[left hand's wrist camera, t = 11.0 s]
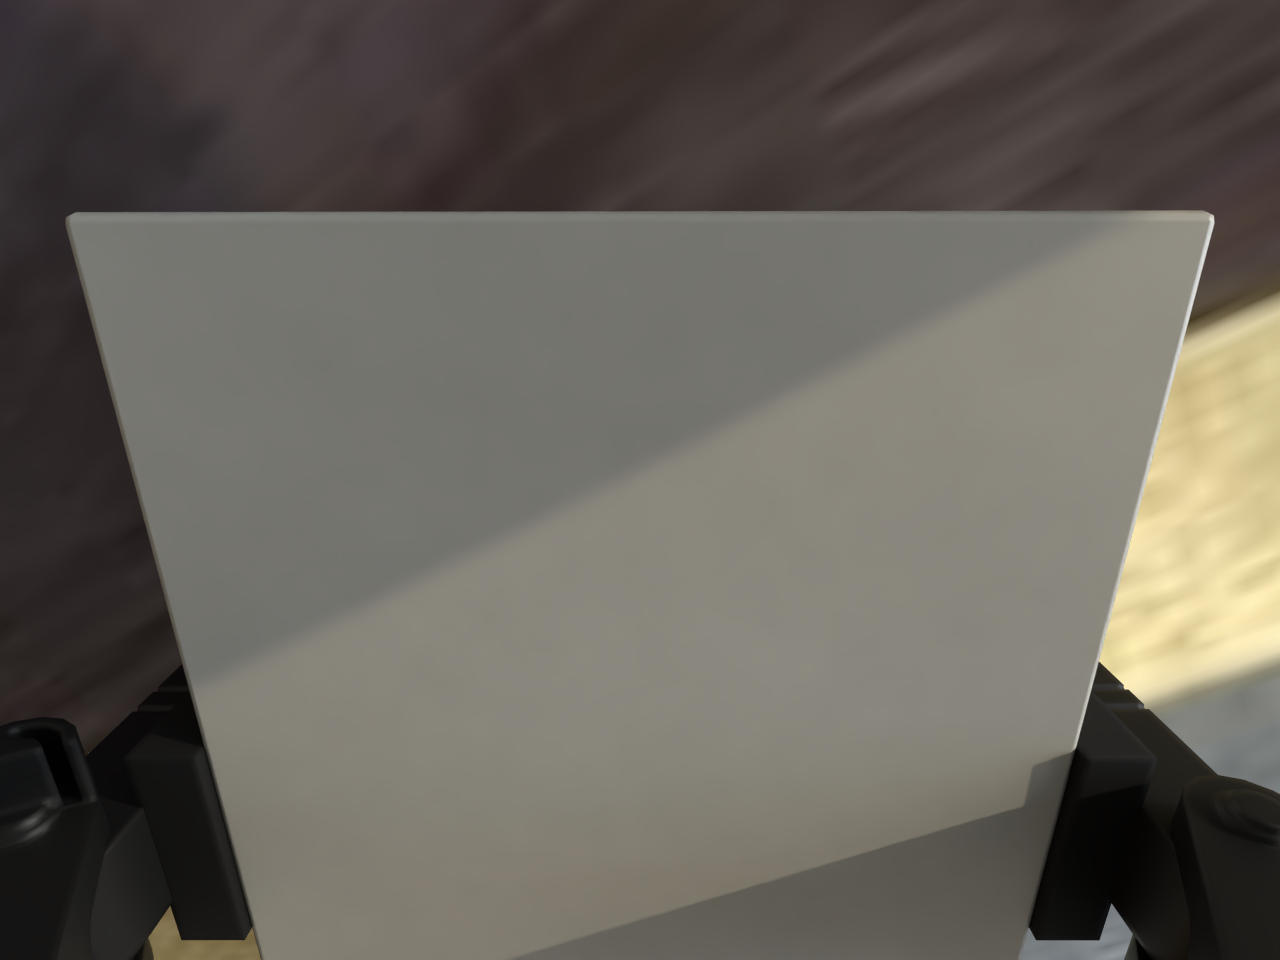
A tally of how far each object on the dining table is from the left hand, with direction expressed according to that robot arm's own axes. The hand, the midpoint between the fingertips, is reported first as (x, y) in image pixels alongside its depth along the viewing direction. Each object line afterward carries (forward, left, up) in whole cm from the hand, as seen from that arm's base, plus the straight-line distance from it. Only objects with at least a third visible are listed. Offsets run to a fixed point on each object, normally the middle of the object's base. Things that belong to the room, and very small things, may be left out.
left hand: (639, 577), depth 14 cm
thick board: (+23, +10, -1) cm, 25 cm away
